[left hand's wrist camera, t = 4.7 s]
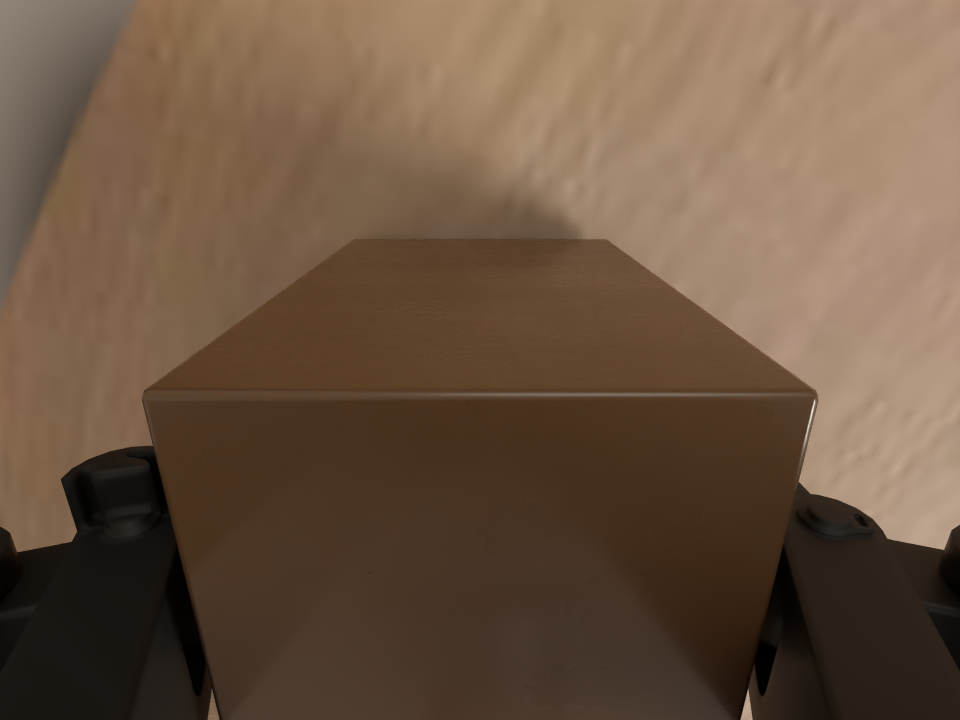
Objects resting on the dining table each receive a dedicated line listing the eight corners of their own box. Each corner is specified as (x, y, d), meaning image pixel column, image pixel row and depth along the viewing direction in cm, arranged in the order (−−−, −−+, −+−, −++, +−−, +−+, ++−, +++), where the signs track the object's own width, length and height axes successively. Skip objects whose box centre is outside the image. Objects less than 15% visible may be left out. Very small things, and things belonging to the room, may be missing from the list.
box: (352, 238, 13) (135, 391, 5) (608, 238, 13) (826, 392, 5) (397, 792, 21) (341, 1229, 12) (562, 793, 21) (617, 1229, 12)
